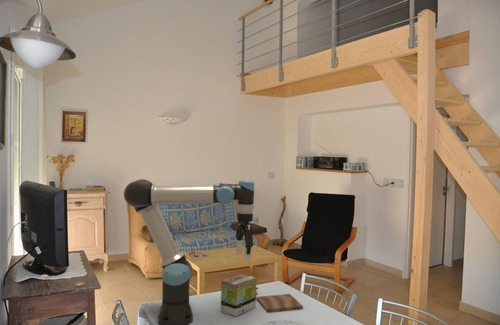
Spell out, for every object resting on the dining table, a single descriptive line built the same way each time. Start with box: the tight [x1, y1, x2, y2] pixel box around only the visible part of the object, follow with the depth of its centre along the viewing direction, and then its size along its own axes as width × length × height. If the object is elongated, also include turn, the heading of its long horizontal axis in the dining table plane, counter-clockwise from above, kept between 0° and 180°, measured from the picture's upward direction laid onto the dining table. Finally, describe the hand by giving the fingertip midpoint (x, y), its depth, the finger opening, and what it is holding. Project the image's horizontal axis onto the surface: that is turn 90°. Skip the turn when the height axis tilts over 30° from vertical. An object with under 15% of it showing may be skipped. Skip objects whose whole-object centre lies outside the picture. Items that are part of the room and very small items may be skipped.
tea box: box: [220, 273, 257, 317], centre depth 190 cm, size 15×10×15 cm, turn 143°
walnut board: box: [256, 293, 304, 314], centre depth 197 cm, size 18×17×2 cm
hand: (243, 257), depth 191 cm, fingers open, 13 cm apart
